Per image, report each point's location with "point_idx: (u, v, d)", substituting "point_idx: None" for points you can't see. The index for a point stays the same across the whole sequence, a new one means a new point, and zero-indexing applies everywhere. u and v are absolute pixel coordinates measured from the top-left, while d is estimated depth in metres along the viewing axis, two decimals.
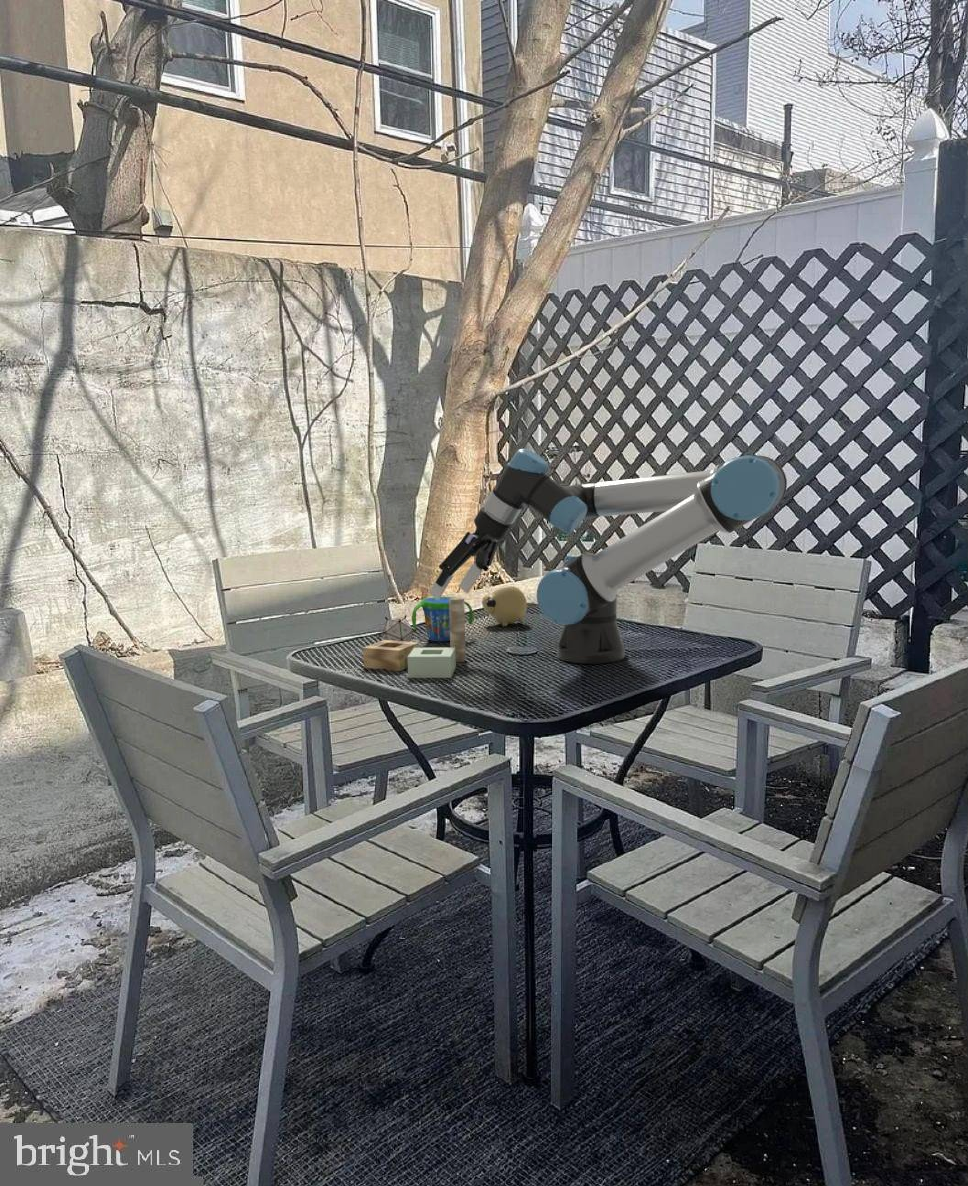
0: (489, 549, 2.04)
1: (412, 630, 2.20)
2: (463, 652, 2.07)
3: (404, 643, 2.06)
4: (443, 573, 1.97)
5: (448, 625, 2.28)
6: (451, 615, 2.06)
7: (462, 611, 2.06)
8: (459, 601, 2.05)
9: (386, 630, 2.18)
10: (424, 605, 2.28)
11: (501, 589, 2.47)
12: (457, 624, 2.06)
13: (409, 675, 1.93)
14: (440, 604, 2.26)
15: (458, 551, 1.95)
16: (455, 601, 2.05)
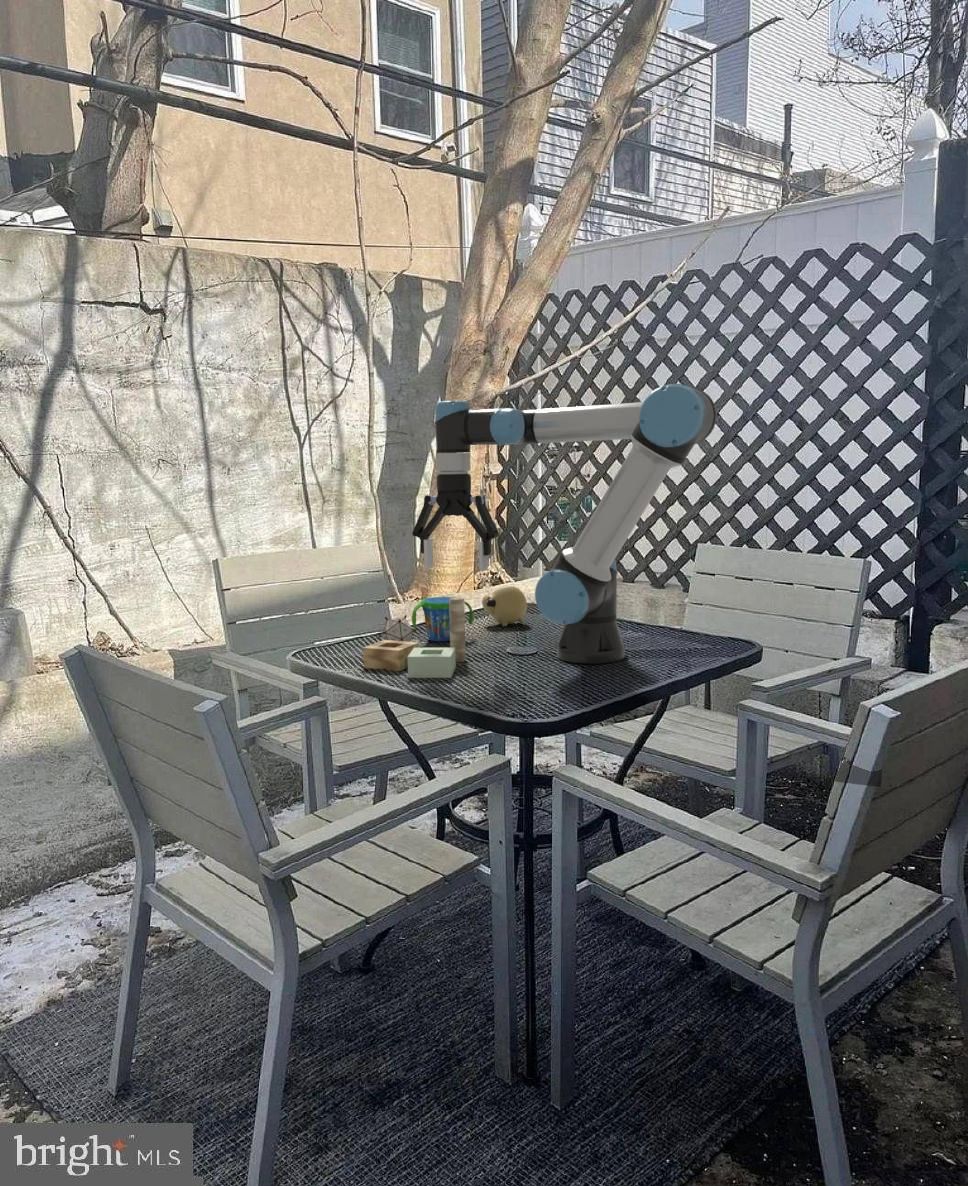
0: (462, 510, 2.01)
1: (412, 630, 2.20)
2: (463, 652, 2.07)
3: (404, 643, 2.06)
4: None
5: (448, 625, 2.28)
6: (451, 615, 2.06)
7: (462, 611, 2.06)
8: (459, 601, 2.05)
9: (386, 630, 2.18)
10: (424, 605, 2.28)
11: (501, 589, 2.47)
12: (457, 624, 2.06)
13: (409, 675, 1.93)
14: (440, 604, 2.26)
15: None
16: (455, 601, 2.05)
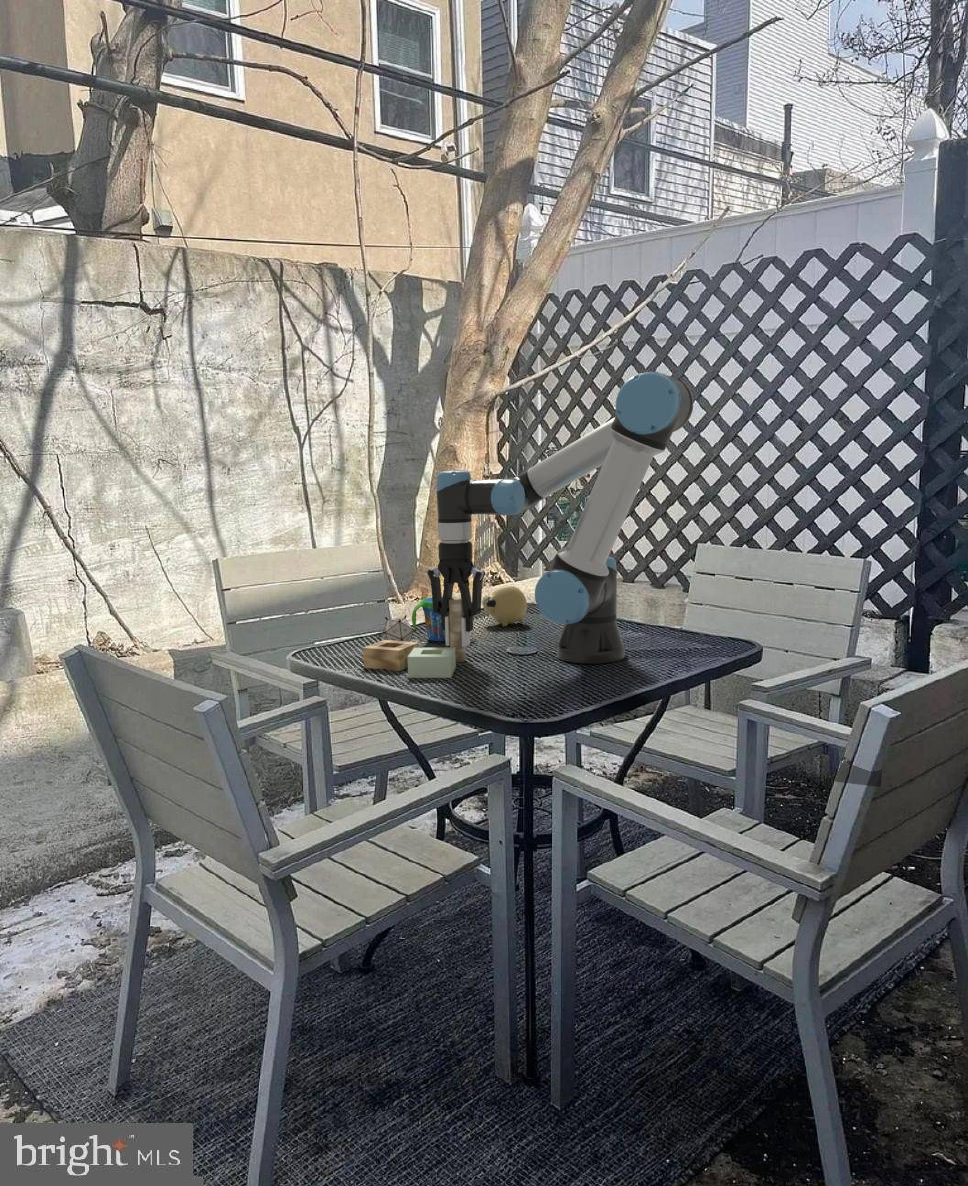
0: (459, 581, 2.03)
1: (412, 630, 2.20)
2: (463, 652, 2.07)
3: (404, 643, 2.06)
4: None
5: None
6: (451, 615, 2.06)
7: (462, 611, 2.06)
8: (459, 601, 2.05)
9: (386, 630, 2.18)
10: (424, 605, 2.28)
11: (501, 589, 2.47)
12: (457, 624, 2.05)
13: (409, 675, 1.93)
14: None
15: None
16: (455, 601, 2.05)
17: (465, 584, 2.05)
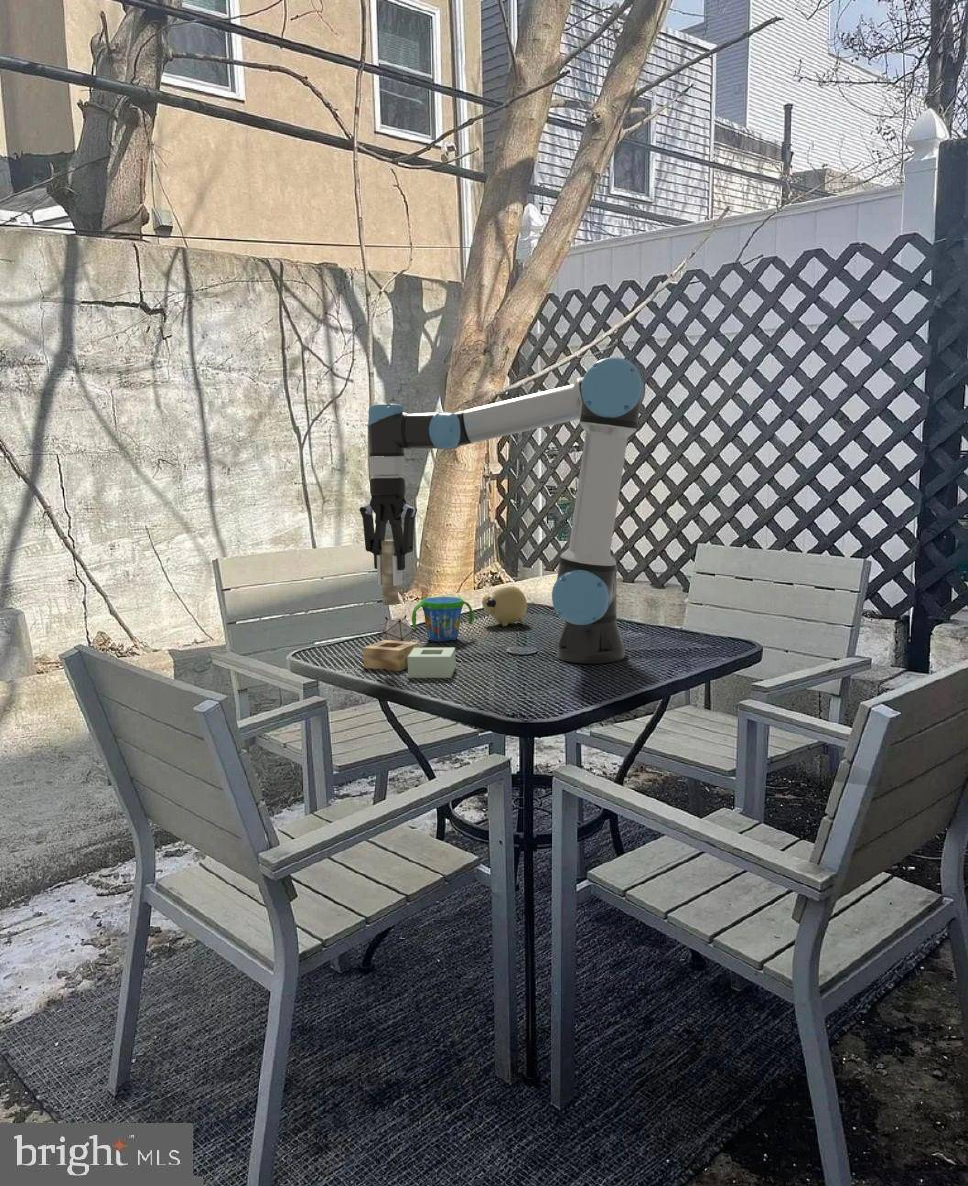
0: (390, 517, 1.98)
1: (412, 630, 2.20)
2: (395, 595, 2.02)
3: (404, 643, 2.06)
4: None
5: (448, 625, 2.28)
6: (383, 557, 2.01)
7: (394, 553, 2.01)
8: (391, 542, 2.00)
9: (386, 630, 2.18)
10: (424, 605, 2.28)
11: (501, 589, 2.47)
12: (389, 566, 2.01)
13: (409, 675, 1.93)
14: (440, 604, 2.26)
15: None
16: (387, 542, 2.00)
17: (397, 521, 2.00)
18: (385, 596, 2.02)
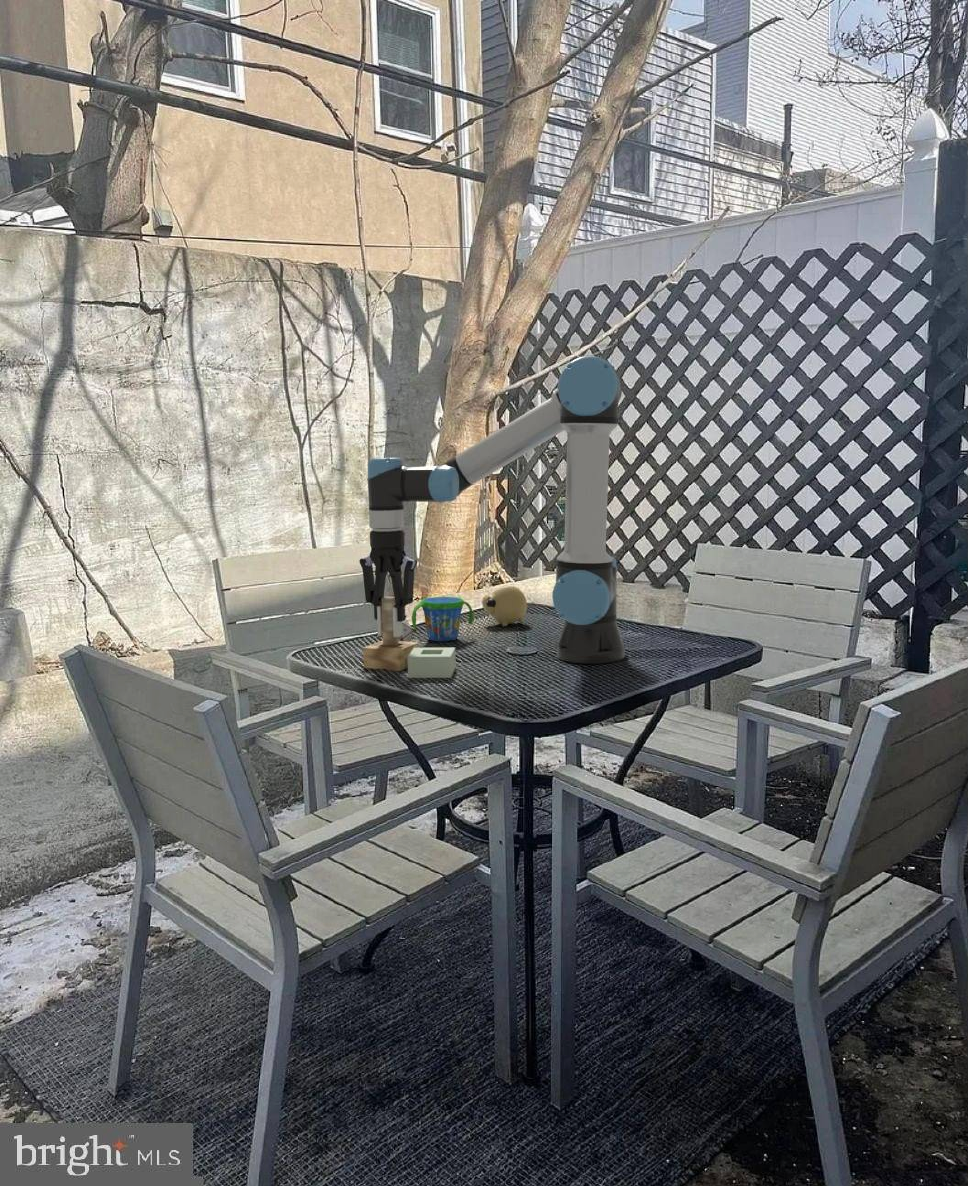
0: (390, 569, 2.00)
1: (412, 630, 2.20)
2: None
3: (404, 643, 2.06)
4: None
5: (448, 625, 2.28)
6: (383, 614, 2.02)
7: None
8: (391, 600, 2.02)
9: None
10: (424, 605, 2.28)
11: (501, 589, 2.47)
12: (389, 623, 2.02)
13: (409, 675, 1.93)
14: (440, 604, 2.26)
15: None
16: (387, 600, 2.01)
17: (397, 573, 2.01)
18: None
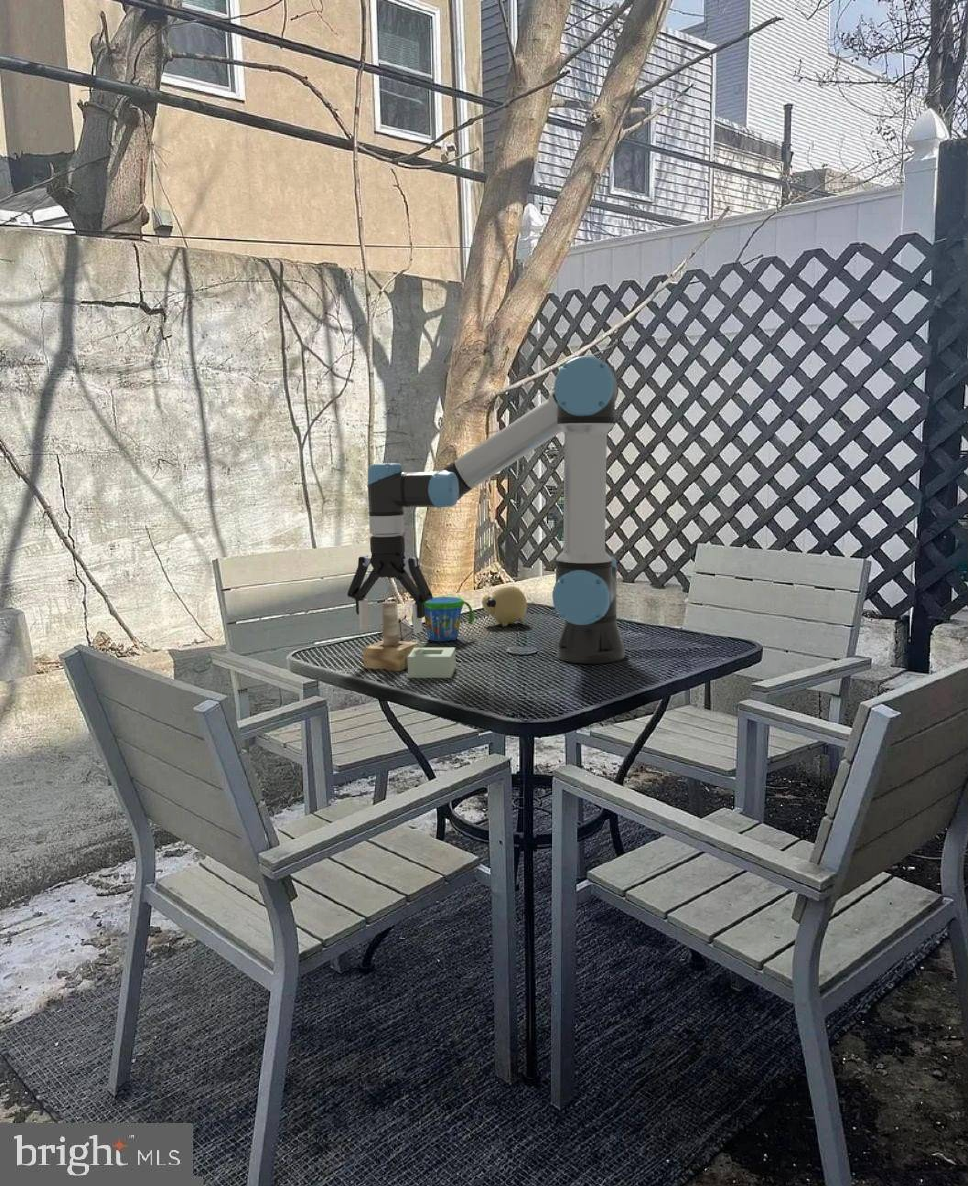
0: (395, 573, 2.00)
1: (412, 630, 2.20)
2: None
3: (404, 643, 2.06)
4: None
5: (448, 625, 2.28)
6: (384, 619, 2.03)
7: (395, 615, 2.03)
8: (391, 605, 2.02)
9: None
10: None
11: (501, 589, 2.47)
12: (390, 628, 2.02)
13: (409, 675, 1.93)
14: (440, 604, 2.26)
15: None
16: (387, 605, 2.02)
17: (403, 574, 2.00)
18: None
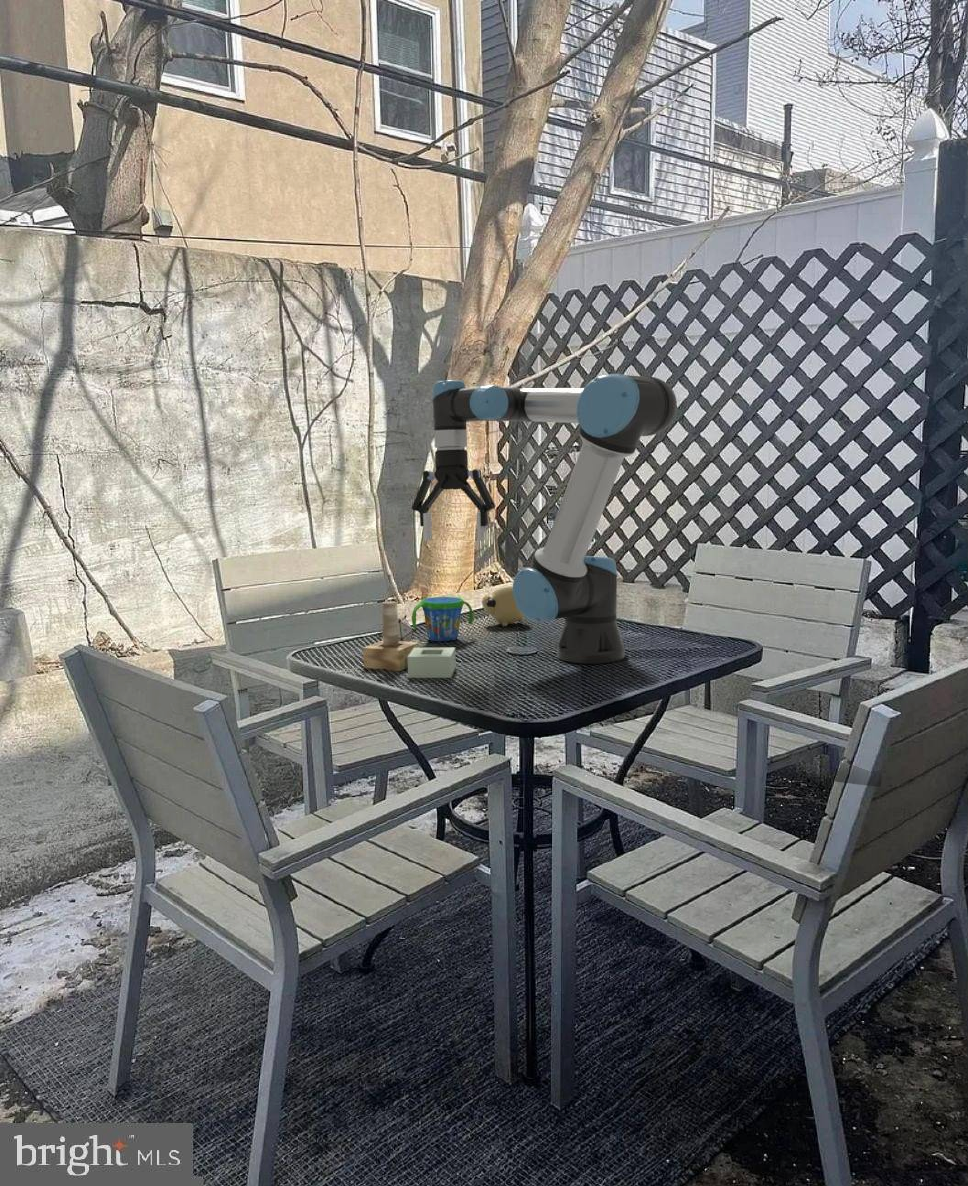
0: (460, 484, 2.13)
1: (412, 630, 2.20)
2: None
3: (404, 643, 2.06)
4: None
5: (448, 625, 2.28)
6: (384, 619, 2.03)
7: (395, 615, 2.03)
8: (391, 605, 2.02)
9: None
10: (424, 605, 2.28)
11: (501, 589, 2.47)
12: (390, 628, 2.02)
13: (409, 675, 1.93)
14: (440, 604, 2.26)
15: None
16: (387, 605, 2.02)
17: (467, 485, 2.13)
18: None
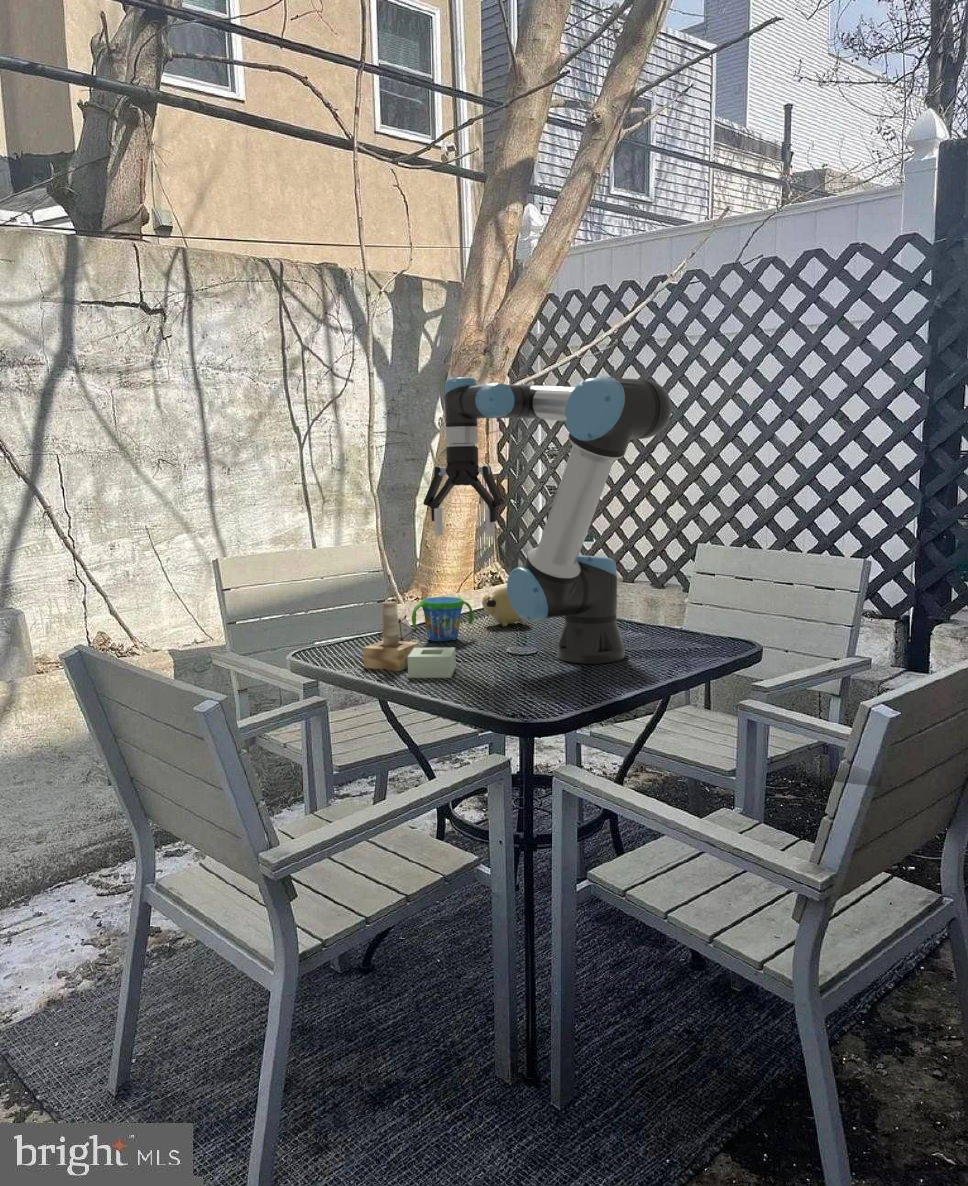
0: (470, 480, 2.15)
1: (412, 630, 2.20)
2: None
3: (404, 643, 2.06)
4: None
5: (448, 625, 2.28)
6: (384, 619, 2.03)
7: (395, 615, 2.03)
8: (391, 605, 2.02)
9: None
10: (424, 605, 2.28)
11: (501, 589, 2.47)
12: (390, 628, 2.02)
13: (409, 675, 1.93)
14: (440, 604, 2.26)
15: None
16: (387, 605, 2.02)
17: (477, 482, 2.16)
18: None
